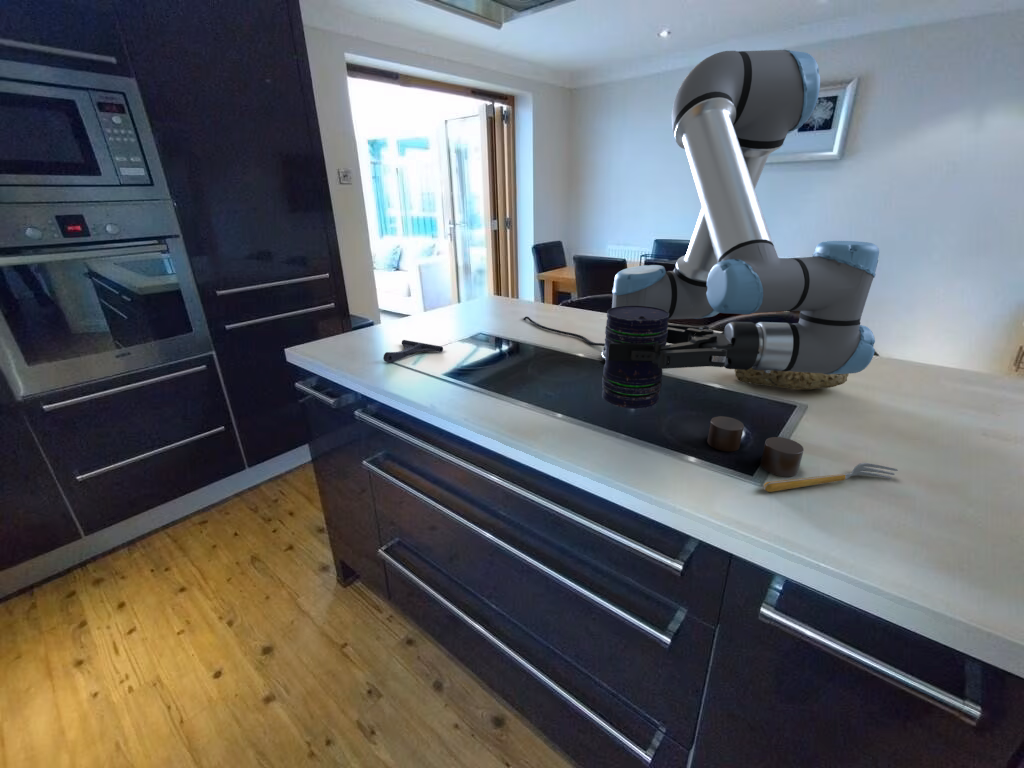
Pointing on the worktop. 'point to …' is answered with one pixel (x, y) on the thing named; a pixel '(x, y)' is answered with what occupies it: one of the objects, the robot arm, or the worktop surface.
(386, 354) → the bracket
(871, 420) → the worktop surface
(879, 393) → the worktop surface
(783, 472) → the walnut disc
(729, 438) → the walnut disc
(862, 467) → the fork
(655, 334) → the storage jar
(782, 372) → the sponge
